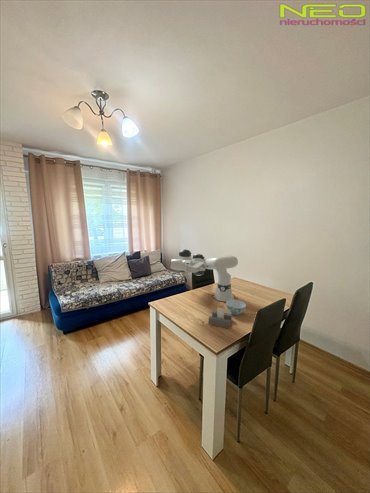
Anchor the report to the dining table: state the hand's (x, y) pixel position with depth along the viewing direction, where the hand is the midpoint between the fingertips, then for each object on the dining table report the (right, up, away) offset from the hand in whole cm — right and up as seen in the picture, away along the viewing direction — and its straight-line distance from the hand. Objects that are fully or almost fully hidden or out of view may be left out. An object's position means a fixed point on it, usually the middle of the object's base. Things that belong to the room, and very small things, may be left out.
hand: (207, 267), depth 148 cm
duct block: (+9, -38, -7) cm, 39 cm away
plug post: (+9, -36, -7) cm, 38 cm away
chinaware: (+23, -36, +7) cm, 43 cm away
